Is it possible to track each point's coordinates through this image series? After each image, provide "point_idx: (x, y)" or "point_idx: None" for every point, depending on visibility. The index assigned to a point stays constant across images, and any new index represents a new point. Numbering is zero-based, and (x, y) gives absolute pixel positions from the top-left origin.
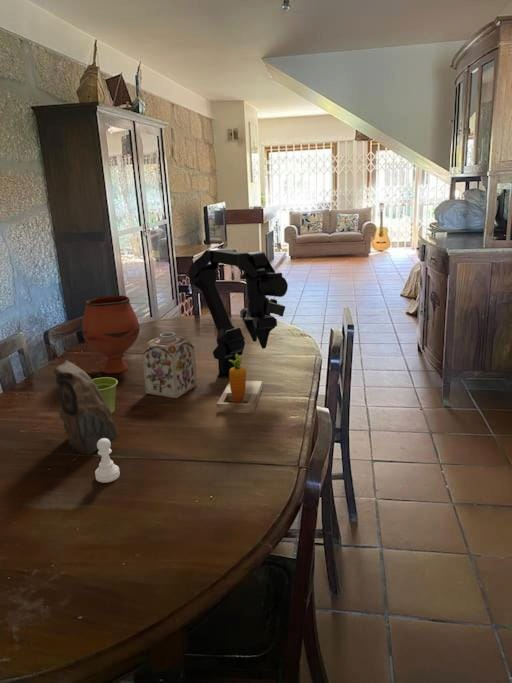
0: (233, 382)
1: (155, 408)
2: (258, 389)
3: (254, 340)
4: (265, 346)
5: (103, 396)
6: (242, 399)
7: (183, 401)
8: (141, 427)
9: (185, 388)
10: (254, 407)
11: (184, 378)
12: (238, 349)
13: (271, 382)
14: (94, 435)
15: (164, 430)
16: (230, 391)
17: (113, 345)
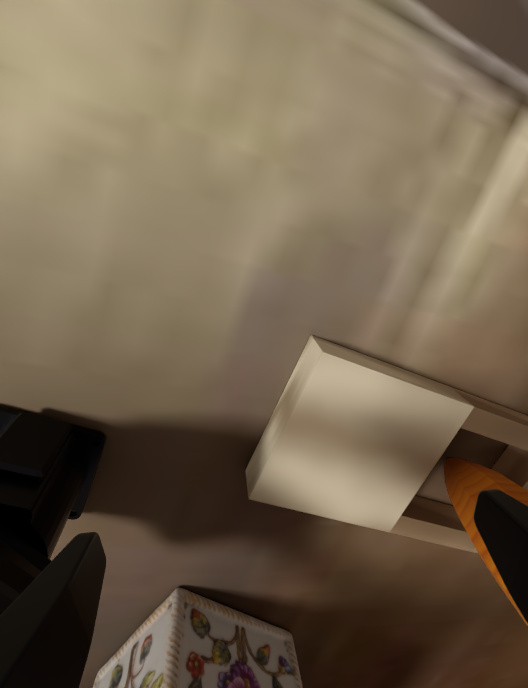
0: None
1: (344, 669)
2: (428, 392)
3: (99, 564)
4: (517, 507)
5: None
6: (482, 466)
7: (322, 613)
8: (452, 678)
9: (244, 631)
10: (518, 414)
11: (254, 685)
12: (17, 568)
13: (229, 263)
14: None
15: (499, 636)
16: (390, 506)
17: None
